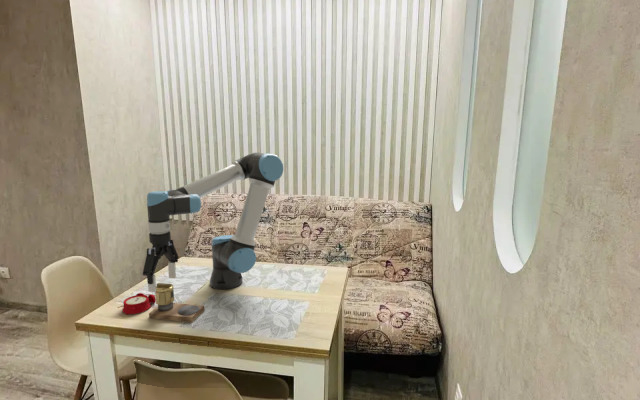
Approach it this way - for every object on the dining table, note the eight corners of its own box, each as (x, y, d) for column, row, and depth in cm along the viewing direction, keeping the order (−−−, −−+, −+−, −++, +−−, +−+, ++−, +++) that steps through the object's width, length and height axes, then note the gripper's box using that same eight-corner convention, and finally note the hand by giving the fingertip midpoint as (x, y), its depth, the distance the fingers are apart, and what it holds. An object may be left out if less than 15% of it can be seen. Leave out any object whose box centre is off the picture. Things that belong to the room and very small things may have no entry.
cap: (152, 304, 144) (150, 286, 142) (162, 296, 150) (161, 280, 149) (168, 305, 142) (166, 288, 141) (178, 298, 149) (176, 281, 148)
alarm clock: (113, 306, 146) (139, 283, 159) (117, 318, 148) (142, 295, 161) (135, 309, 143) (159, 286, 157) (139, 321, 146) (163, 298, 159)
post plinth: (149, 318, 143) (147, 295, 142) (164, 306, 153) (162, 284, 151) (191, 322, 140) (190, 298, 138) (204, 310, 150) (203, 288, 148)
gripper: (148, 241, 129) (152, 298, 132) (185, 224, 153) (188, 273, 156) (129, 239, 130) (133, 296, 133) (169, 224, 154) (171, 272, 158)
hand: (162, 284), depth 145 cm, fingers open, 13 cm apart
